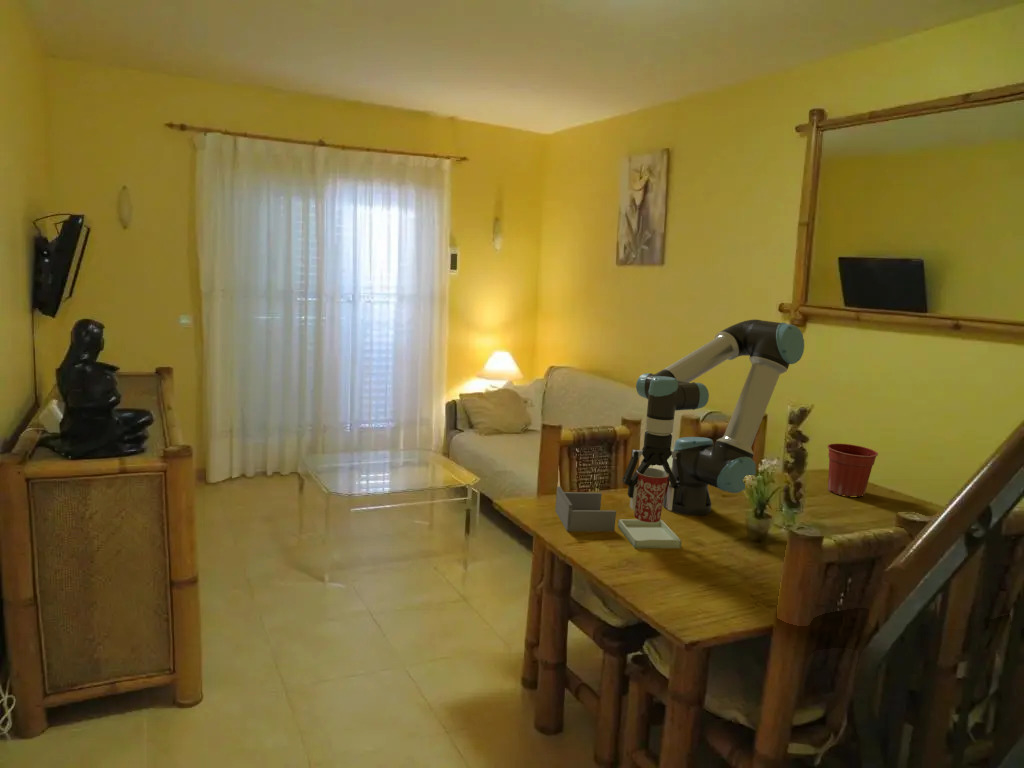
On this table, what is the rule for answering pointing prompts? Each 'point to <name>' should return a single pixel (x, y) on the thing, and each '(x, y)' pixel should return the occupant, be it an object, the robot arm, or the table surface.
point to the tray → (649, 534)
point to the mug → (651, 494)
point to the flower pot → (849, 469)
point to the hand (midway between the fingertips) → (650, 508)
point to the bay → (583, 512)
